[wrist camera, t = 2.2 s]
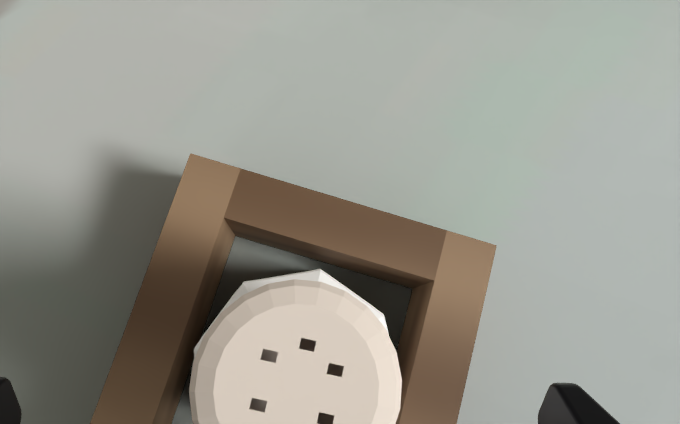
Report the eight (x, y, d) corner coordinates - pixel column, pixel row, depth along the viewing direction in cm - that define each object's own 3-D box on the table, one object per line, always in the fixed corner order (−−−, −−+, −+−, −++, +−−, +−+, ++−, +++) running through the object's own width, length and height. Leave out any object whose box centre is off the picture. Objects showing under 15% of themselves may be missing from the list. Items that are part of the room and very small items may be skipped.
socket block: (397, 546, 17) (418, 592, 14) (106, 461, 17) (65, 489, 14) (465, 258, 19) (496, 245, 16) (206, 181, 19) (190, 153, 16)
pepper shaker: (236, 253, 18) (150, 143, 8) (394, 290, 18) (530, 231, 8) (191, 423, 17) (14, 575, 6) (361, 460, 17) (468, 671, 7)
